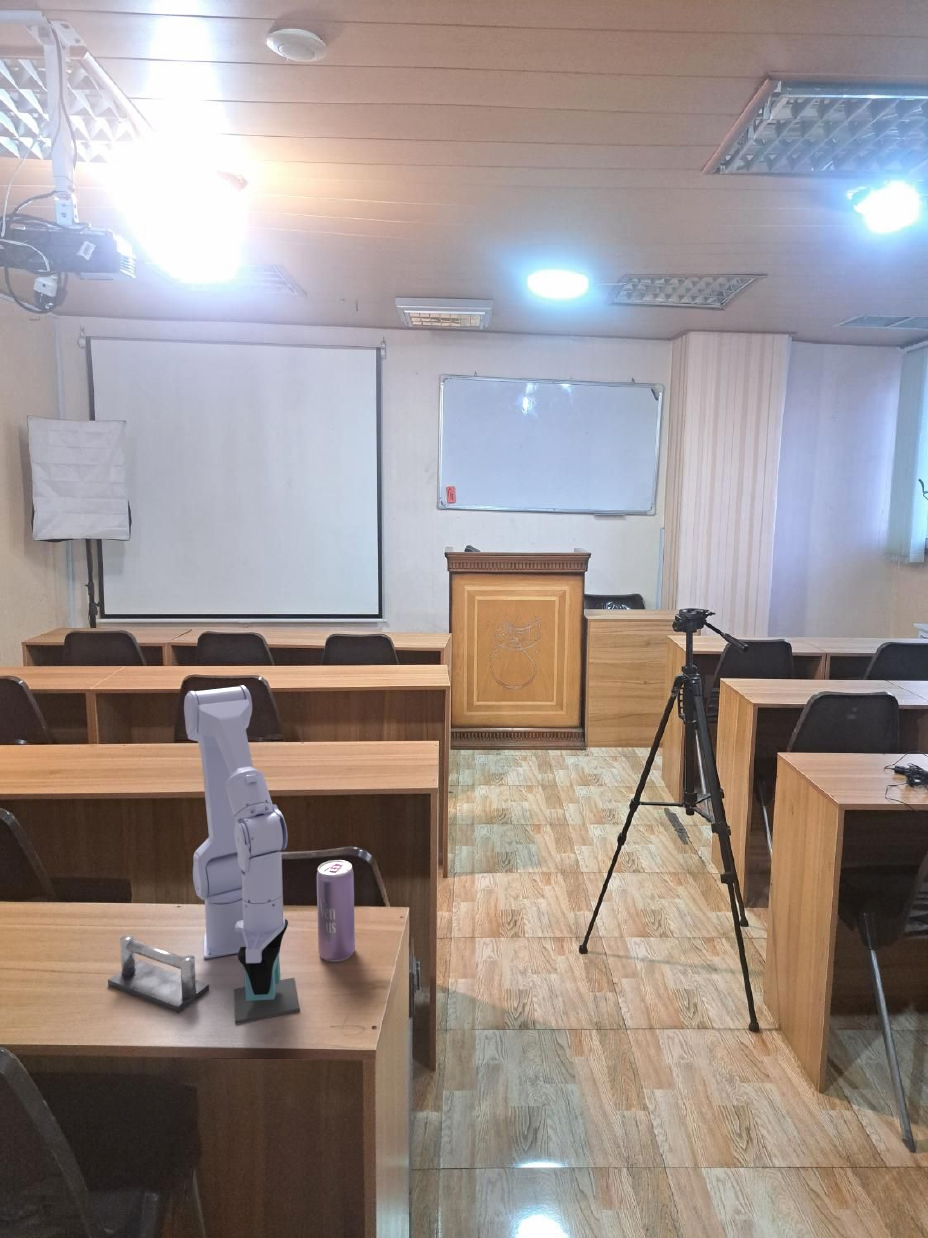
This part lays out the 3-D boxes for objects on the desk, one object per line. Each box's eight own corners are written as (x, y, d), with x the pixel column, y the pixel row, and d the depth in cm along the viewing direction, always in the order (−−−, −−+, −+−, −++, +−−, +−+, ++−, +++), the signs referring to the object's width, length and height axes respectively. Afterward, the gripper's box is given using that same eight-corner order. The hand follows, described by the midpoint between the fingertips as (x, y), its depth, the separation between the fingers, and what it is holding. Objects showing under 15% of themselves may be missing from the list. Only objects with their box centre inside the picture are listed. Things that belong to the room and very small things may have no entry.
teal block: (253, 980, 112) (252, 949, 112) (280, 979, 112) (278, 948, 112) (246, 1001, 107) (244, 968, 107) (274, 999, 107) (272, 967, 107)
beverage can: (361, 947, 125) (359, 862, 123) (344, 966, 119) (342, 877, 117) (329, 941, 126) (327, 857, 125) (311, 960, 121) (309, 872, 119)
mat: (294, 980, 115) (294, 977, 115) (299, 1011, 108) (299, 1008, 108) (234, 992, 112) (233, 989, 112) (235, 1024, 105) (235, 1021, 105)
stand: (140, 966, 119) (138, 927, 119) (209, 990, 113) (207, 950, 112) (108, 986, 114) (105, 946, 113) (178, 1013, 107) (176, 971, 107)
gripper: (246, 873, 115) (249, 955, 117) (221, 921, 101) (225, 1014, 102) (291, 872, 116) (294, 954, 117) (274, 919, 101) (277, 1011, 103)
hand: (265, 982), depth 110 cm, fingers closed on teal block, 5 cm apart
